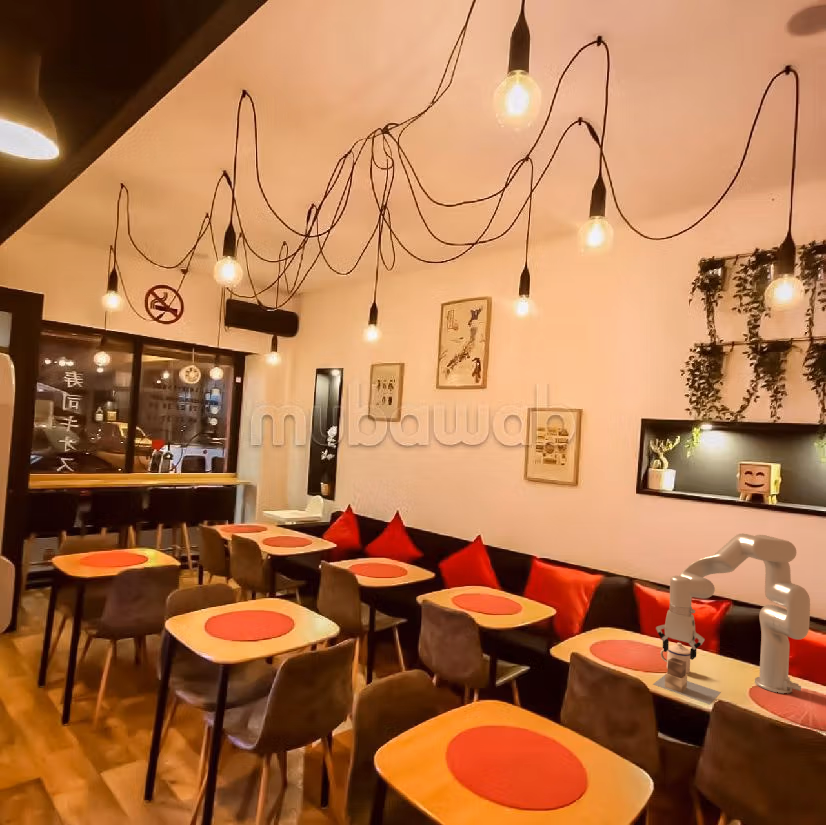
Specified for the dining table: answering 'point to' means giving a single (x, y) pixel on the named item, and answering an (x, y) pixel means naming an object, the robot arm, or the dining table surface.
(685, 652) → the teacup with lid
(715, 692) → the slate board
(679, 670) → the walnut block
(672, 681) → the maple block
